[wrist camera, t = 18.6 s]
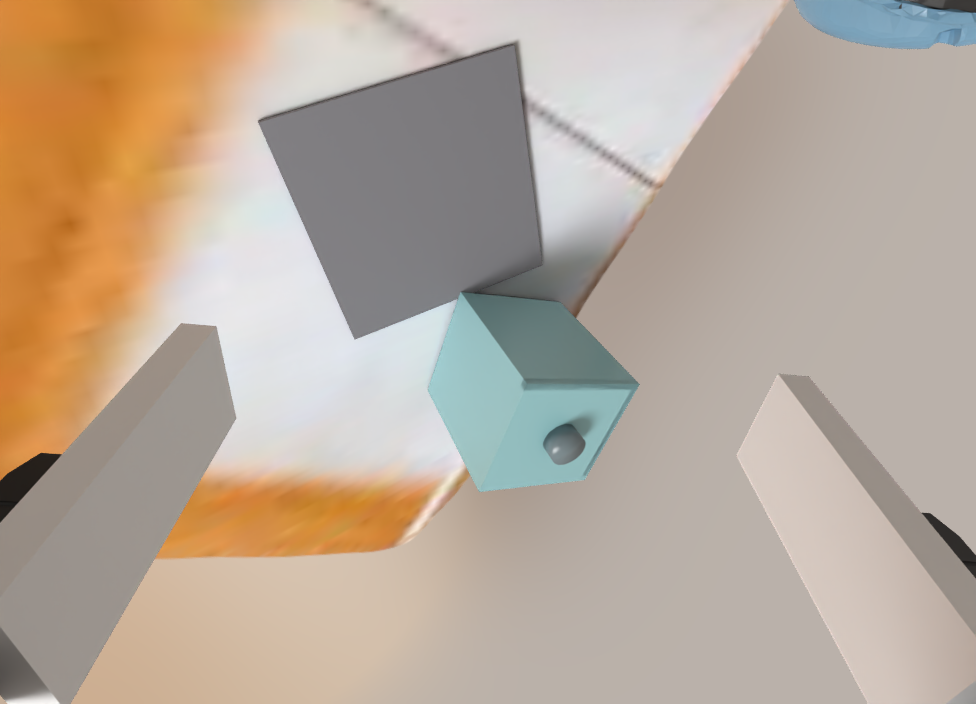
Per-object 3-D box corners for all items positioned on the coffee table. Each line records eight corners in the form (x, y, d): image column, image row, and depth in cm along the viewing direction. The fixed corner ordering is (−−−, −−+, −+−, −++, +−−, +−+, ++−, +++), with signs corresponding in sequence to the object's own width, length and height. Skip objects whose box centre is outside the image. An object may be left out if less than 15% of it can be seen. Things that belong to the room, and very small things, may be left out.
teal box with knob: (460, 291, 47) (537, 397, 36) (560, 302, 52) (651, 396, 42) (427, 390, 52) (486, 506, 42) (521, 389, 58) (593, 492, 47)
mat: (511, 44, 37) (514, 45, 37) (539, 262, 49) (542, 265, 49) (257, 120, 34) (258, 122, 34) (353, 336, 46) (354, 339, 45)
